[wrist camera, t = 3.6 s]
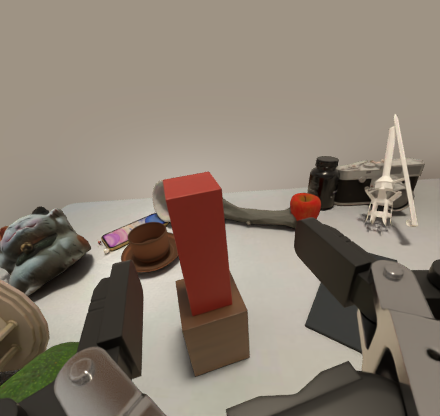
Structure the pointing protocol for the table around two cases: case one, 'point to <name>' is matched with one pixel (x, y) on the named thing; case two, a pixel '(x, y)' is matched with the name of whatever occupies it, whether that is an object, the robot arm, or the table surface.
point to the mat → (336, 317)
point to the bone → (258, 215)
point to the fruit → (38, 372)
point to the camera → (368, 174)
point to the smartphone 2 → (126, 232)
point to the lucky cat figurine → (39, 248)
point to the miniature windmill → (20, 329)
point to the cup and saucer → (150, 247)
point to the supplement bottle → (324, 180)
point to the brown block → (214, 332)
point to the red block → (200, 239)
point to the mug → (160, 202)
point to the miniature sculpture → (391, 182)
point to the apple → (305, 206)
